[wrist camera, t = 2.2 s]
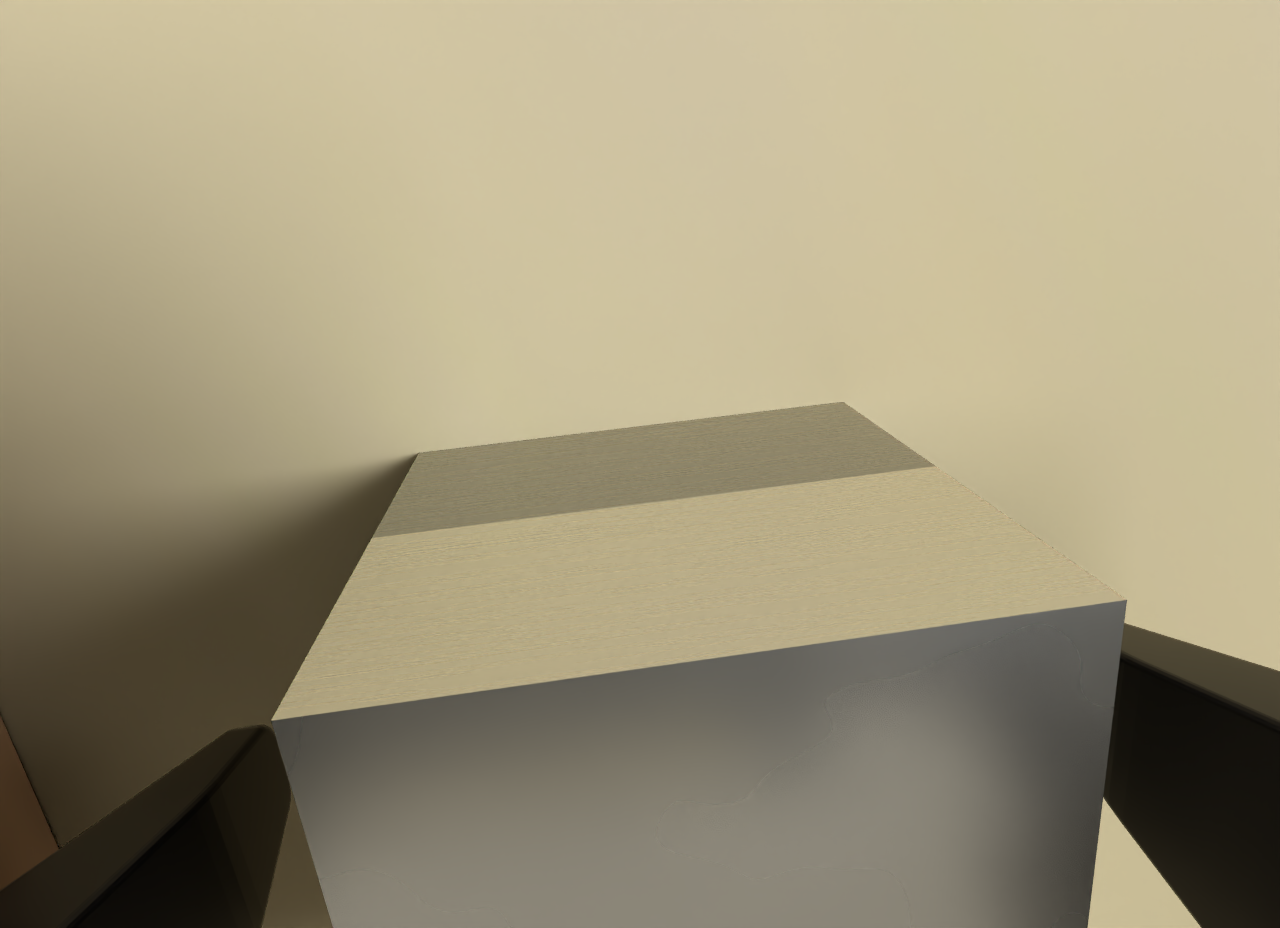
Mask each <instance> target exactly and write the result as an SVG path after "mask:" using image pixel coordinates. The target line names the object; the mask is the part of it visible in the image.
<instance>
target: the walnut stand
mask: <svg viewBox="0 0 1280 928" xmlns="http://www.w3.org/2000/svg"><path fill="white" fill-rule="evenodd" d="M57 850H59V849H58V846H57V844H56V842H55V840H54V837H53V835H52V833H51V830H50V828H49V826H48V824H47V821H46V819H45V817H44V814H43V812H42V810H41V808H40V805H39V803H38V801H37V798H36V796H35V794H34V792H33V789H32V787H31V785H30V782H29V780H28V778H27V776H26V773H25V771H24V769H23V766H22V764H21V762H20V760H19V757H18V755H17V753H16V750H15V748H14V746H13V744H12V741H11V739H10V737H9V734H8V732H7V730H6V728H5V725H4V723H3V721H2V718H1V716H0V890H1V889H3V888H4V887H6V886H7V885H9V884H10V883H11V882H13V881H14V880H16V879H17V878H19V877H20V876H21V875H23V874H24V873H26V872H27V871H29V870H30V869H31V868H33V867H34V866H36V865H37V864H39V863H40V862H41V861H43V860H44V859H46V858H47V857H49V856H50V855H51V854H53V853H54V852H56V851H57Z"/></svg>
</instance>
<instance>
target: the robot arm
mask: <svg viewBox="0 0 1280 928" xmlns="http://www.w3.org/2000/svg"><path fill="white" fill-rule="evenodd" d="M1103 797H1104V799H1105V800H1106V802H1107V803H1108V805H1109V806H1110V808H1111V809H1112V810H1113V812H1114V813H1115V814H1116V816H1117V817H1118V819H1119V820H1120V821H1121V823H1122V824H1123V825H1124V827H1125V828H1126V829H1127V831H1128V832H1129V833H1130V835H1131V836H1132V837H1133V839H1134V840H1135V841H1136V843H1137V844H1138V845H1139V846H1140V848H1141V849H1142V850H1143V852H1144V853H1145V854H1146V856H1147V857H1148V858H1149V860H1150V861H1151V862H1152V864H1153V865H1154V866H1155V867H1156V869H1157V870H1158V871H1159V873H1160V874H1161V875H1162V877H1163V878H1164V879H1165V881H1166V882H1167V883H1168V885H1169V886H1170V887H1171V888H1172V890H1173V891H1174V892H1175V894H1176V895H1177V896H1178V898H1179V899H1180V900H1181V902H1182V903H1183V904H1184V906H1185V907H1186V908H1187V909H1188V911H1189V912H1190V913H1191V915H1192V916H1193V917H1194V919H1195V920H1196V921H1197V923H1198V924H1199V925H1200V927H1201V928H1280V671H1277V670H1274V669H1271V668H1268V667H1264V666H1261V665H1258V664H1255V663H1252V662H1248V661H1245V660H1242V659H1239V658H1235V657H1232V656H1229V655H1226V654H1222V653H1219V652H1216V651H1213V650H1210V649H1206V648H1203V647H1200V646H1197V645H1193V644H1190V643H1187V642H1184V641H1181V640H1177V639H1174V638H1171V637H1168V636H1164V635H1161V634H1158V633H1155V632H1151V631H1148V630H1145V629H1142V628H1139V627H1135V626H1132V625H1129V624H1126V623H1124V628H1123V636H1122V644H1121V652H1120V661H1119V669H1118V677H1117V686H1116V694H1115V702H1114V710H1113V719H1112V727H1111V735H1110V744H1109V752H1108V760H1107V769H1106V777H1105V785H1104V793H1103ZM290 801H291V788H290V782H289V779H288V776H287V772H286V769H285V766H284V762H283V759H282V756H281V752H280V749H279V746H278V742H277V739H276V736H275V734H274V732H273V730H272V729H271V728H270V727H268V726H266V725H257V726H250V727H243V728H236V729H232V730H229V731H227V732H226V733H224V734H223V735H221V736H220V737H219V738H217V739H216V740H214V741H213V742H211V743H210V744H209V745H207V746H206V747H204V748H203V749H201V750H200V751H199V752H197V753H196V754H194V755H193V756H191V757H190V758H189V759H187V760H186V761H184V762H183V763H181V764H180V765H179V766H177V767H176V768H174V769H173V770H171V771H170V772H169V773H167V774H166V775H164V776H163V777H161V778H160V779H159V780H157V781H156V782H154V783H153V784H151V785H150V786H149V787H147V788H146V789H144V790H143V791H141V792H140V793H139V794H137V795H136V796H134V797H133V798H131V799H130V800H129V801H127V802H126V803H124V804H123V805H121V806H120V807H119V808H117V809H116V810H114V811H113V812H111V813H110V814H109V815H107V816H106V817H104V818H103V819H101V820H100V821H99V822H97V823H96V824H94V825H93V826H91V827H90V828H89V829H87V830H86V831H84V832H83V833H81V834H80V835H79V836H77V837H76V838H74V839H73V840H71V841H70V842H69V843H67V844H66V845H64V846H63V847H61V848H60V849H59V850H57V851H56V852H54V853H53V854H51V855H50V856H49V857H47V858H46V859H44V860H43V861H41V862H40V863H39V864H37V865H36V866H34V867H33V868H31V869H30V870H29V871H27V872H26V873H24V874H23V875H21V876H20V877H19V878H17V879H16V880H14V881H13V882H11V883H10V884H9V885H7V886H6V887H4V888H3V889H1V890H0V928H261V927H262V923H263V919H264V915H265V911H266V907H267V902H268V898H269V894H270V889H271V885H272V881H273V877H274V872H275V868H276V864H277V859H278V855H279V851H280V846H281V842H282V838H283V834H284V829H285V825H286V821H287V816H288V812H289V808H290Z"/></svg>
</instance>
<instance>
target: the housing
mask: <svg viewBox="0 0 1280 928" xmlns="http://www.w3.org/2000/svg"><path fill="white" fill-rule="evenodd" d="M1126 603H1127V600H1126V599H1125V598H1124V597H1122V596H1121V595H1119V594H1118V593H1116V592H1115V591H1113V590H1112V589H1111V588H1109V587H1108V586H1106V585H1105V584H1103V583H1102V582H1101V581H1099V580H1098V579H1096V578H1095V577H1093V576H1092V575H1091V574H1089V573H1088V572H1086V571H1085V570H1083V569H1082V568H1081V567H1079V566H1078V565H1076V564H1075V563H1073V562H1072V561H1070V560H1069V559H1068V558H1066V557H1065V556H1063V555H1062V554H1060V553H1059V552H1058V551H1056V550H1055V549H1053V548H1052V547H1050V546H1049V545H1048V544H1046V543H1045V542H1043V541H1042V540H1040V539H1039V538H1038V537H1036V536H1035V535H1033V534H1032V533H1030V532H1029V531H1027V530H1026V529H1025V528H1023V527H1022V526H1020V525H1019V524H1017V523H1016V522H1015V521H1013V520H1012V519H1010V518H1009V517H1007V516H1006V515H1005V514H1003V513H1002V512H1000V511H999V510H997V509H996V508H994V507H993V506H992V505H990V504H989V503H987V502H986V501H984V500H983V499H982V498H980V497H979V496H977V495H976V494H974V493H973V492H972V491H970V490H969V489H967V488H966V487H964V486H963V485H962V484H960V483H959V482H957V481H956V480H954V479H953V478H951V477H950V476H949V475H947V474H946V473H944V472H943V471H941V470H940V469H939V468H937V467H936V466H934V465H933V464H931V463H930V462H929V461H927V460H926V459H924V458H923V457H921V456H920V455H919V454H917V453H916V452H914V451H913V450H911V449H910V448H908V447H907V446H906V445H904V444H903V443H901V442H900V441H898V440H897V439H896V438H894V437H893V436H891V435H890V434H888V433H887V432H886V431H884V430H883V429H881V428H880V427H878V426H877V425H876V424H874V423H873V422H871V421H870V420H868V419H867V418H865V417H864V416H863V415H861V414H860V413H858V412H857V411H855V410H854V409H853V408H851V407H850V406H848V405H847V404H845V403H844V402H838V403H830V404H822V405H813V406H805V407H797V408H788V409H780V410H772V411H763V412H755V413H747V414H739V415H730V416H722V417H714V418H705V419H697V420H689V421H680V422H672V423H664V424H656V425H647V426H639V427H631V428H622V429H614V430H606V431H597V432H589V433H581V434H573V435H564V436H556V437H548V438H539V439H531V440H523V441H514V442H506V443H498V444H490V445H481V446H473V447H465V448H456V449H448V450H440V451H431V452H423V453H419V454H418V455H417V457H416V459H415V461H414V463H413V464H412V466H411V468H410V470H409V472H408V473H407V475H406V477H405V479H404V481H403V483H402V484H401V486H400V488H399V490H398V492H397V493H396V495H395V497H394V499H393V501H392V502H391V504H390V506H389V508H388V510H387V512H386V513H385V515H384V517H383V519H382V521H381V522H380V524H379V526H378V528H377V530H376V531H375V533H374V535H373V537H372V539H371V540H370V542H369V544H368V546H367V548H366V550H365V551H364V553H363V555H362V557H361V559H360V560H359V562H358V564H357V566H356V568H355V569H354V571H353V573H352V575H351V577H350V579H349V580H348V582H347V584H346V586H345V588H344V589H343V591H342V593H341V595H340V597H339V598H338V600H337V602H336V604H335V606H334V608H333V609H332V611H331V613H330V615H329V617H328V618H327V620H326V622H325V624H324V626H323V627H322V629H321V631H320V633H319V635H318V637H317V638H316V640H315V642H314V644H313V646H312V647H311V649H310V651H309V653H308V655H307V656H306V658H305V660H304V662H303V664H302V665H301V667H300V669H299V671H298V673H297V675H296V676H295V678H294V680H293V682H292V684H291V685H290V687H289V689H288V691H287V693H286V694H285V696H284V698H283V700H282V702H281V704H280V705H279V707H278V709H277V711H276V713H275V714H274V716H273V718H272V720H271V722H272V726H273V729H274V732H275V736H276V739H277V742H278V746H279V749H280V752H281V756H282V759H283V762H284V766H285V769H286V772H287V776H288V779H289V782H290V786H291V789H292V792H293V796H294V799H295V802H296V806H297V809H298V812H299V816H300V819H301V823H302V826H303V829H304V833H305V836H306V839H307V843H308V846H309V849H310V853H311V856H312V859H313V863H314V866H315V869H316V873H317V876H318V879H319V883H320V886H321V889H322V893H323V896H324V899H325V903H326V906H327V909H328V913H329V916H330V919H331V923H332V926H333V928H1087V926H1088V918H1089V910H1090V901H1091V893H1092V885H1093V876H1094V868H1095V860H1096V851H1097V843H1098V835H1099V827H1100V818H1101V810H1102V802H1103V793H1104V785H1105V777H1106V769H1107V760H1108V752H1109V744H1110V735H1111V727H1112V719H1113V710H1114V702H1115V694H1116V686H1117V677H1118V669H1119V661H1120V652H1121V644H1122V636H1123V628H1124V619H1125V611H1126Z"/></svg>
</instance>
